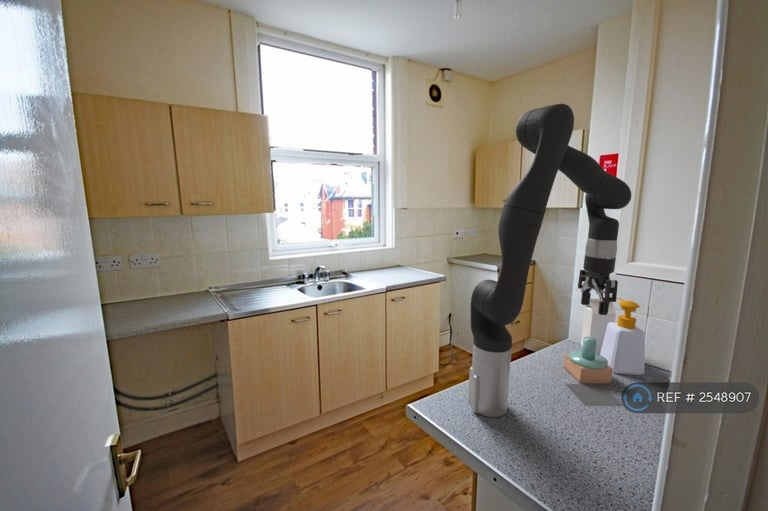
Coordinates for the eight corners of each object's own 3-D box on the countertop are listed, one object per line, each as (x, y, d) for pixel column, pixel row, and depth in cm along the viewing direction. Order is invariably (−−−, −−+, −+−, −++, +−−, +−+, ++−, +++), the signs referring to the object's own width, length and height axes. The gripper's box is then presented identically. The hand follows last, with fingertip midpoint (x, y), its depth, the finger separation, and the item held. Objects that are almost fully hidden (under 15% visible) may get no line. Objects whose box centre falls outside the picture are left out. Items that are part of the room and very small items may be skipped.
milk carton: (610, 356, 115) (617, 302, 112) (587, 354, 117) (593, 301, 113) (601, 347, 122) (608, 296, 119) (580, 345, 123) (585, 295, 120)
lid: (580, 369, 97) (582, 346, 96) (562, 353, 107) (564, 332, 106) (615, 369, 97) (618, 346, 96) (594, 353, 107) (596, 332, 105)
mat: (584, 406, 88) (584, 405, 88) (564, 385, 98) (564, 383, 98) (623, 406, 88) (623, 405, 88) (599, 385, 98) (599, 384, 98)
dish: (579, 384, 98) (581, 368, 97) (563, 368, 107) (564, 353, 106) (610, 384, 98) (612, 368, 97) (592, 368, 107) (593, 353, 106)
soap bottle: (621, 355, 116) (629, 293, 112) (646, 377, 102) (656, 306, 98) (591, 353, 117) (598, 292, 113) (611, 374, 103) (620, 305, 99)
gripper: (573, 250, 103) (567, 301, 106) (602, 259, 89) (595, 318, 92) (598, 250, 103) (591, 301, 106) (631, 259, 89) (623, 318, 92)
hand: (593, 309), depth 99 cm, fingers open, 8 cm apart
